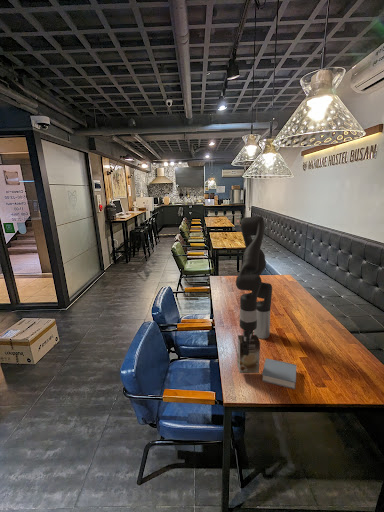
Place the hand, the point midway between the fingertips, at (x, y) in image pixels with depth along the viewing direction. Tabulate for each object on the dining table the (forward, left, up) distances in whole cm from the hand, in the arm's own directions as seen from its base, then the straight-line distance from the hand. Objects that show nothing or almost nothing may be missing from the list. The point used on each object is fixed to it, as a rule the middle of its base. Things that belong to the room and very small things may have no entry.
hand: (247, 349), depth 113 cm
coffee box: (0, 0, -11) cm, 11 cm away
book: (-5, +14, -14) cm, 20 cm away
